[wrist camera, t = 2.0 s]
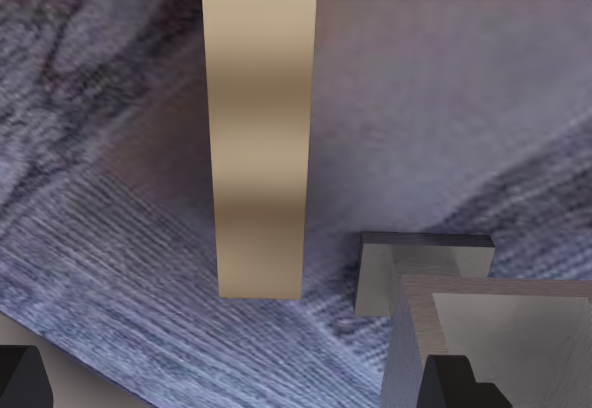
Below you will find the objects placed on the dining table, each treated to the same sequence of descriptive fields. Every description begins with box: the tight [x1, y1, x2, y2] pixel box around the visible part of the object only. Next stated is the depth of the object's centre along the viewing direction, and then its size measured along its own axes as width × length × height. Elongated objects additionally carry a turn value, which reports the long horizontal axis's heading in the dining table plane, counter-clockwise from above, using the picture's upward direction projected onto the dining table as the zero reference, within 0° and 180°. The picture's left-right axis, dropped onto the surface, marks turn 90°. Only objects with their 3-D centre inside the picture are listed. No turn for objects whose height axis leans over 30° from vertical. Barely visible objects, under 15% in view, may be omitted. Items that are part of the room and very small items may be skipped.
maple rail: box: [202, 0, 316, 299], centre depth 26 cm, size 24×4×6 cm, turn 178°
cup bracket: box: [353, 232, 592, 408], centre depth 26 cm, size 12×8×22 cm, turn 178°
